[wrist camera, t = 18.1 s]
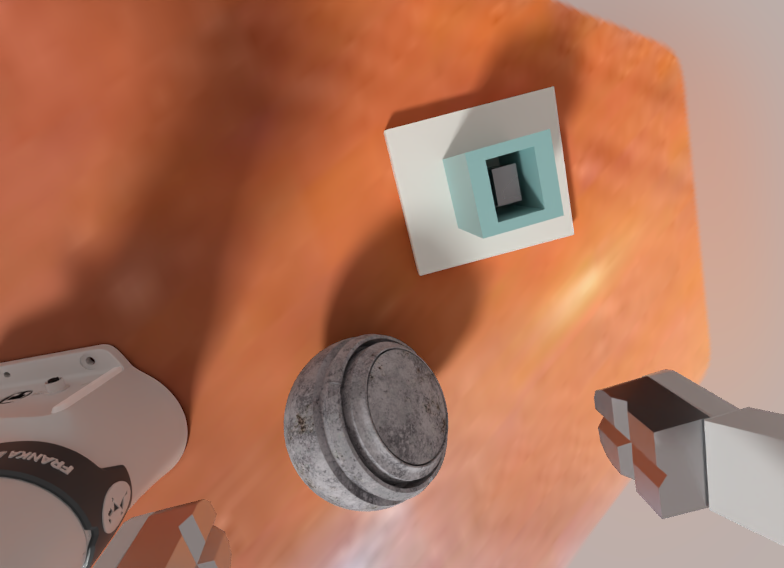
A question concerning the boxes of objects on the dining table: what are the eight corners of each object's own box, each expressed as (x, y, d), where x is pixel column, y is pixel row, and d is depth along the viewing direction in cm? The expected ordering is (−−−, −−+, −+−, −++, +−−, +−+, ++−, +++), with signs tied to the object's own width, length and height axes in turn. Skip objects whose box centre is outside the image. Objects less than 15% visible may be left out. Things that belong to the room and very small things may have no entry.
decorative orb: (457, 385, 45) (506, 481, 31) (359, 463, 46) (360, 590, 32) (371, 288, 42) (379, 344, 27) (267, 375, 43) (222, 473, 28)
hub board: (417, 272, 42) (420, 275, 40) (383, 132, 38) (384, 130, 37) (566, 232, 42) (574, 234, 40) (546, 89, 38) (553, 86, 37)
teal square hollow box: (458, 228, 39) (483, 238, 31) (442, 159, 38) (464, 152, 30) (523, 209, 39) (564, 215, 32) (510, 140, 38) (549, 128, 30)
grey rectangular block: (477, 203, 39) (498, 206, 33) (471, 171, 38) (491, 169, 32) (497, 197, 39) (521, 200, 33) (491, 166, 38) (515, 163, 32)
